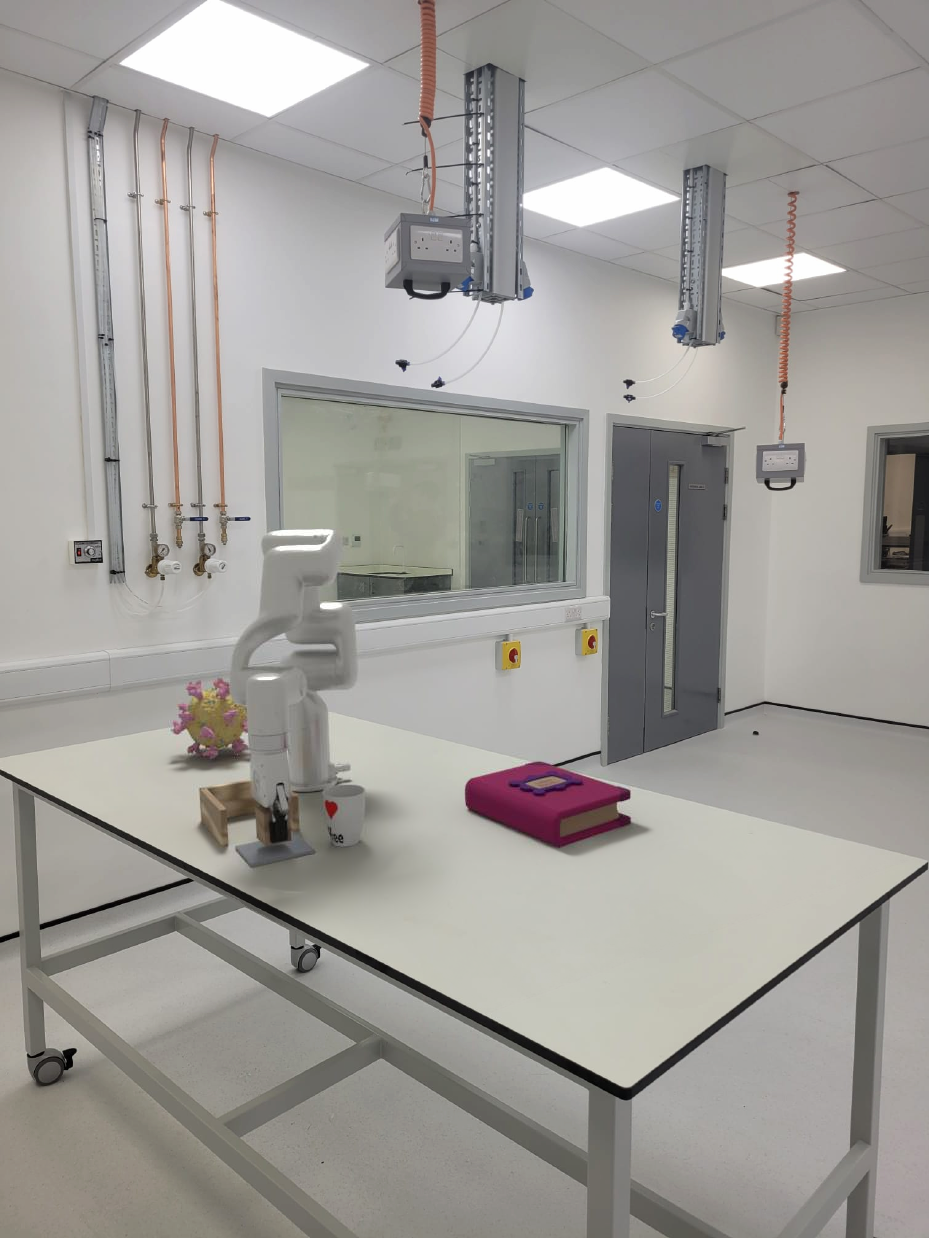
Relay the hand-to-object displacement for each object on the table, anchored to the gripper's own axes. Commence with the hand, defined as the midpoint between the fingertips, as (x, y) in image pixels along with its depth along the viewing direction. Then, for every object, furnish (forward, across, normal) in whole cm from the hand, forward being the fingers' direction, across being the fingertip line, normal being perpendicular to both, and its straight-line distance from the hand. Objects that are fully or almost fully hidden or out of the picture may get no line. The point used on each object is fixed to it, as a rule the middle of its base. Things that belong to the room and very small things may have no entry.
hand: (274, 835), depth 162 cm
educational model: (+3, -73, +9) cm, 74 cm away
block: (+1, 0, 0) cm, 1 cm away
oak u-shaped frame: (+3, -16, 0) cm, 16 cm away
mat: (+3, 0, 0) cm, 3 cm away
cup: (+3, +3, +13) cm, 14 cm away
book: (+4, +13, +53) cm, 55 cm away
